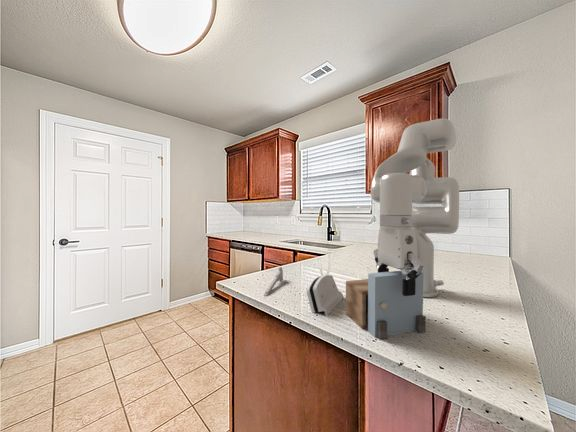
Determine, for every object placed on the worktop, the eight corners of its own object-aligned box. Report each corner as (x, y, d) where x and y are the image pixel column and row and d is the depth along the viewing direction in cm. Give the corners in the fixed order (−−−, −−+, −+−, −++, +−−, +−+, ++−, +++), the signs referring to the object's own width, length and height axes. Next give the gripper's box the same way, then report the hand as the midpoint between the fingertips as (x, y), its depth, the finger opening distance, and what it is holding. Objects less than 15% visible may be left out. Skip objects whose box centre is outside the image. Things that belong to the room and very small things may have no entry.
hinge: (327, 316, 70) (316, 282, 71) (313, 318, 72) (302, 285, 74) (343, 297, 84) (334, 269, 86) (331, 299, 87) (323, 272, 88)
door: (367, 331, 61) (368, 273, 61) (413, 324, 65) (414, 269, 64) (377, 340, 57) (378, 278, 57) (426, 332, 61) (427, 273, 60)
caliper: (280, 279, 106) (280, 266, 106) (283, 280, 106) (282, 266, 105) (263, 296, 86) (263, 279, 86) (266, 297, 86) (266, 280, 86)
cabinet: (345, 314, 71) (345, 281, 71) (392, 308, 75) (392, 276, 74) (374, 340, 57) (374, 299, 57) (430, 331, 61) (430, 292, 60)
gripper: (436, 224, 53) (435, 299, 54) (386, 220, 70) (386, 277, 71) (407, 225, 52) (407, 303, 52) (363, 220, 68) (363, 279, 69)
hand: (395, 288), depth 61 cm, fingers open, 9 cm apart
